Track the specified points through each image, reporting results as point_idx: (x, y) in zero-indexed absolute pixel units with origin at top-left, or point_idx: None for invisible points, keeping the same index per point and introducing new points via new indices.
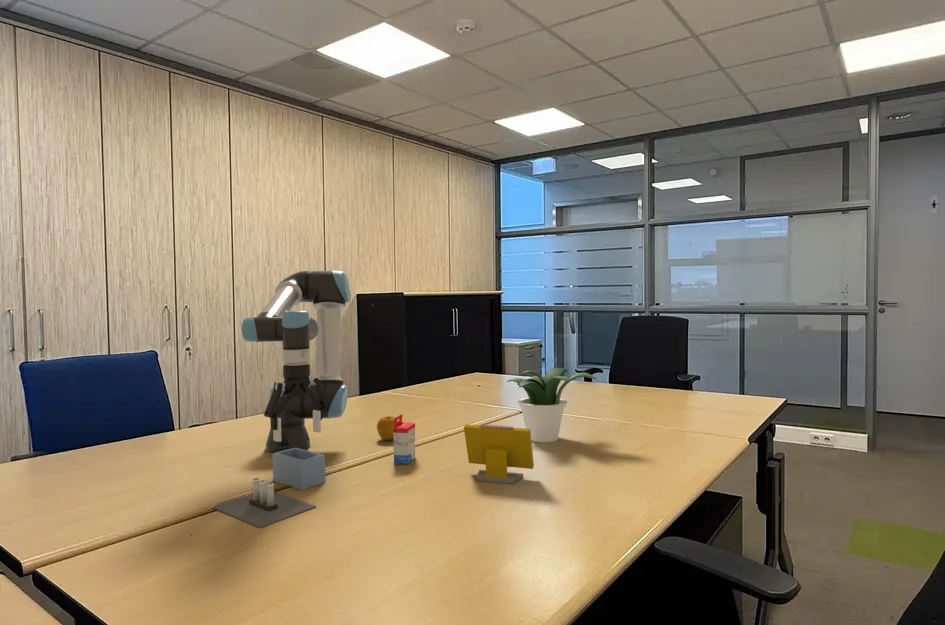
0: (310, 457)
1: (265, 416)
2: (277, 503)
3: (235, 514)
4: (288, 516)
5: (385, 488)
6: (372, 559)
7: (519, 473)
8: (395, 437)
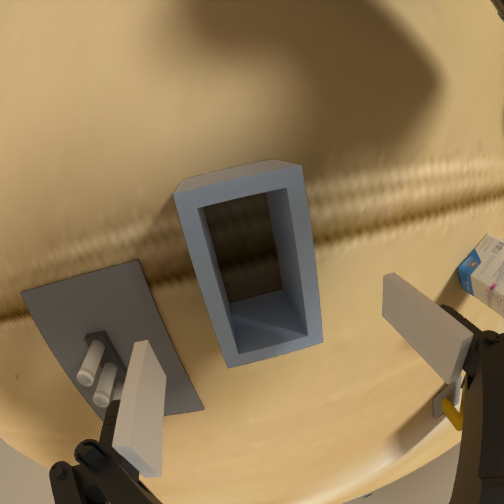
0: (297, 285)
1: (61, 466)
2: None
3: (63, 363)
4: None
5: (350, 386)
6: (203, 495)
7: (456, 403)
8: (498, 297)
